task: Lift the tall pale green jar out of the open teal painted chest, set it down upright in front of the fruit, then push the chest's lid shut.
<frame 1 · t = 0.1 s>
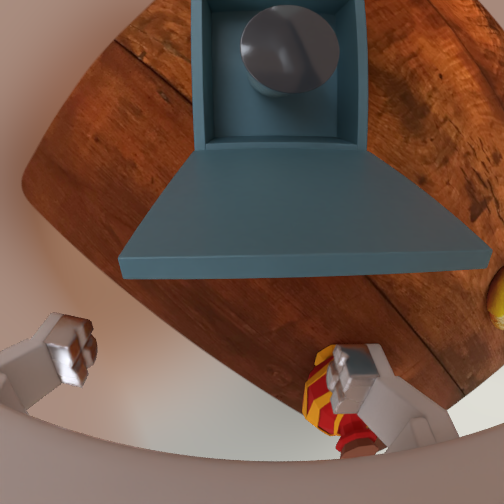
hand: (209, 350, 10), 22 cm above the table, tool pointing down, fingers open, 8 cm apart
lid: (298, 185, 15), point 14 cm above the table, hinge at 95.0°
jar: (275, 70, 24), point 1 cm above the table, touching chest
potion bottle: (333, 358, 40), on the table
chest: (275, 71, 25), on the table
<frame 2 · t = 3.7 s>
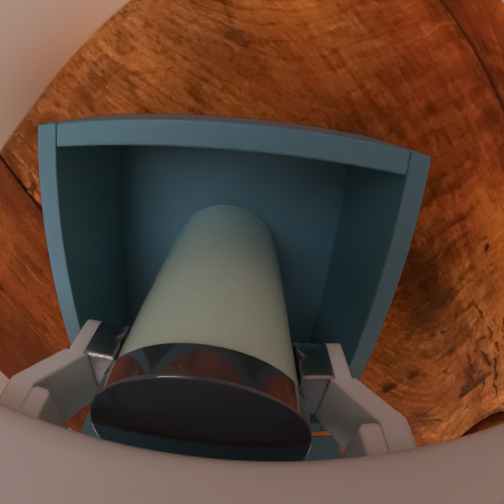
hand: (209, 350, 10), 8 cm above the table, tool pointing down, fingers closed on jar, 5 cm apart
jar: (225, 252, 16), point 1 cm above the table, touching chest, gripper
chest: (226, 246, 17), on the table
fruit: (479, 433, 29), on the table
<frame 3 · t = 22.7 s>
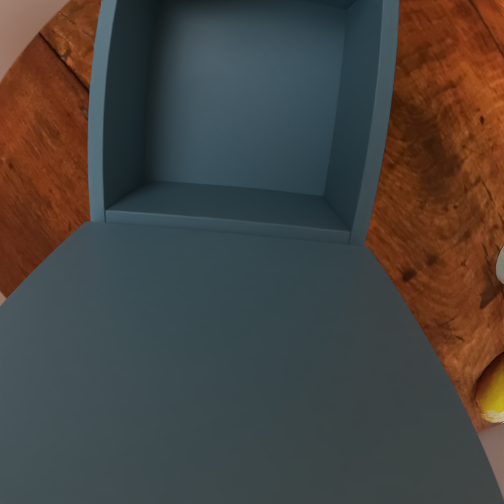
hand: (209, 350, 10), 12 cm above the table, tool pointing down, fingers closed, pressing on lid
lid: (200, 374, 7), point 14 cm above the table, hinge at 91.8°, touching gripper
chest: (243, 87, 17), on the table
fruit: (500, 372, 29), on the table
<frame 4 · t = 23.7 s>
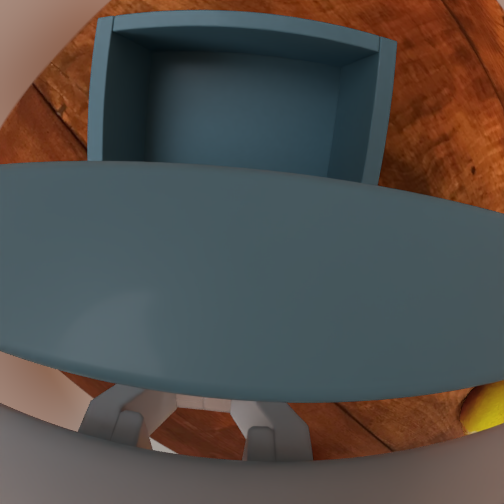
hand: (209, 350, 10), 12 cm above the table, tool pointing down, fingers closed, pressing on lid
lid: (207, 314, 8), point 13 cm above the table, hinge at 52.1°, touching gripper
chest: (236, 151, 19), on the table
fruit: (485, 393, 31), on the table
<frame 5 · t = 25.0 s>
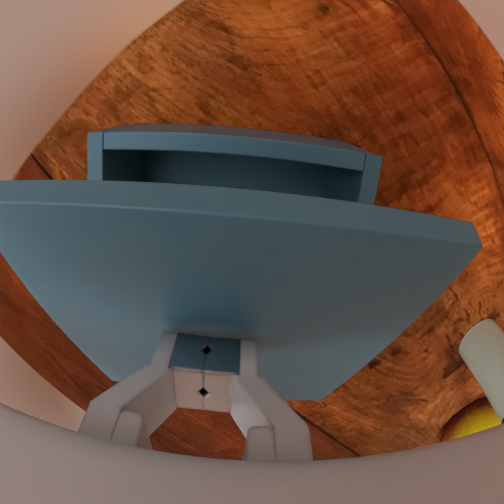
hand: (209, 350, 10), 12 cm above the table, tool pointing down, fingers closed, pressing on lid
lid: (212, 344, 12), point 10 cm above the table, hinge at 26.4°, touching gripper
jar: (478, 339, 26), on the table
chest: (229, 232, 21), on the table
fruit: (467, 418, 33), on the table
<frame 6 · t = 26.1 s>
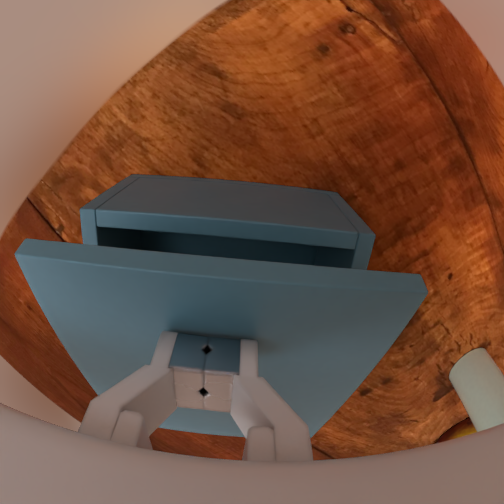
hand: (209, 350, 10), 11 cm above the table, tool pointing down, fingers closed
lid: (211, 384, 13), point 9 cm above the table, hinge at 15.7°
jar: (468, 366, 26), on the table
chest: (225, 280, 21), on the table
fruit: (458, 433, 34), on the table
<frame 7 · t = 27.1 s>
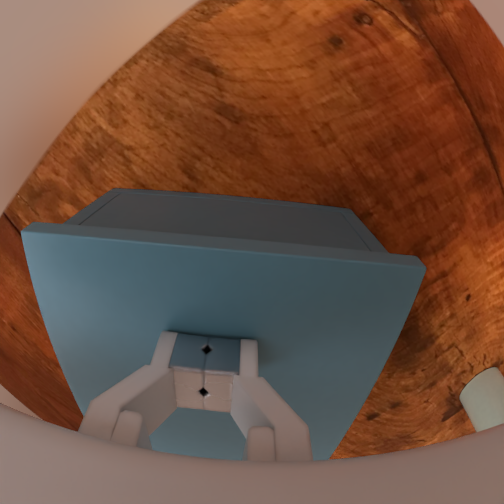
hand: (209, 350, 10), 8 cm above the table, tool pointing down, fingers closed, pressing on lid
lid: (209, 402, 12), point 7 cm above the table, hinge at 1.7°, touching gripper
jar: (479, 385, 24), on the table
chest: (221, 307, 19), on the table
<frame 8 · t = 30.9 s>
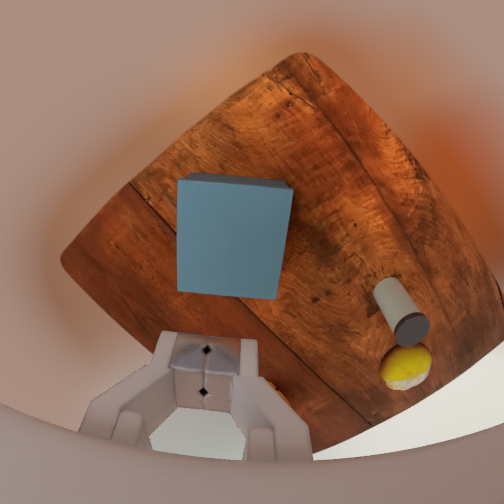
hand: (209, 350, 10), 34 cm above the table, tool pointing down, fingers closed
lid: (230, 243, 37), point 7 cm above the table, hinge at 1.6°
jar: (387, 290, 49), on the table
chest: (233, 224, 44), on the table
fruit: (401, 358, 56), on the table
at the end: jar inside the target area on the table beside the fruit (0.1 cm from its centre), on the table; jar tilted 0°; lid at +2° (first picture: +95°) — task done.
